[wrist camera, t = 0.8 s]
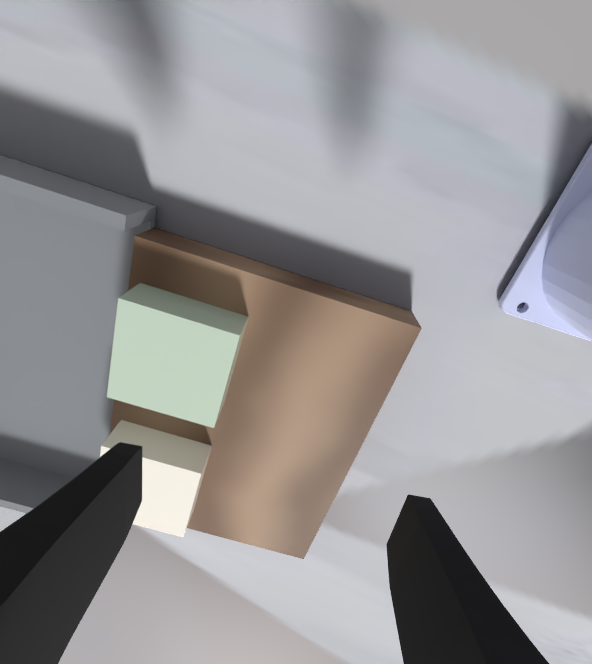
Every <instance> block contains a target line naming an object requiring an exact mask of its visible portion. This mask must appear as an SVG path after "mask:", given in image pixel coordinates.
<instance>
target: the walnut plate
mask: <svg viewBox="0 0 592 664" xmlns="http://www.w3.org/2000/svg"><path fill="white" fill-rule="evenodd" d="M139 283H143V284H146V285H149V286H152V287H155V288H159V289H162V290H165V291H168V292H171V293H175V294H178V295H181V296H184V297H187V298H191V299H194V300H197V301H200V302H203V303H206V304H210V305H213V306H216V307H219V308H222V309H226V310H229V311H232V312H235V313H238V314H242V315H245V316H248V321H247V324H246V328H245V331H244V335H243V338H242V342H241V345H240V349H239V352H238V356H237V359H236V363H235V366H234V370H233V374H232V377H231V381H230V384H229V388H228V391H227V395H226V398H225V402H224V404H223V407H222V410H221V412H220V415H219V417H218V420H217V422H216V425H215V427H214V428H212V427H208V426H205V425H201V424H198V423H194V422H191V421H187V420H184V419H180V418H177V417H173V416H170V415H167V414H163V413H160V412H156V411H153V410H149V409H146V408H142V407H139V406H135V405H132V404H129V403H125V402H122V401H118V400H115V399H114V404H113V412H112V420H111V428H110V434H111V432H112V431H113V430H114V428H115V427H116V426H117V424H118V423H119V422H120V421H121V420H124V421H127V422H131V423H134V424H138V425H141V426H145V427H148V428H152V429H155V430H159V431H162V432H166V433H169V434H173V435H176V436H180V437H183V438H187V439H190V440H194V441H197V442H201V443H204V444H208V445H211V446H212V447H211V451H210V455H209V458H208V462H207V465H206V469H205V472H204V476H203V479H202V483H201V486H200V490H199V493H198V497H197V500H196V504H195V507H194V510H193V513H192V515H191V518H190V521H189V524H188V526H187V528H189V529H193V530H197V531H201V532H204V533H208V534H212V535H216V536H219V537H223V538H227V539H231V540H234V541H238V542H242V543H245V544H249V545H253V546H257V547H260V548H264V549H268V550H272V551H275V552H279V553H283V554H287V555H290V556H294V557H298V558H302V559H304V557H305V555H306V553H307V551H308V549H309V547H310V545H311V543H312V542H313V540H314V538H315V536H316V534H317V532H318V530H319V528H320V526H321V524H322V522H323V520H324V518H325V516H326V514H327V512H328V510H329V508H330V506H331V504H332V502H333V500H334V498H335V497H336V495H337V493H338V491H339V489H340V487H341V485H342V483H343V481H344V479H345V477H346V475H347V473H348V471H349V469H350V467H351V465H352V463H353V461H354V459H355V457H356V455H357V453H358V452H359V450H360V448H361V446H362V444H363V442H364V440H365V438H366V436H367V434H368V432H369V430H370V428H371V426H372V424H373V422H374V420H375V418H376V416H377V414H378V412H379V410H380V408H381V407H382V405H383V403H384V401H385V399H386V397H387V395H388V393H389V391H390V389H391V387H392V385H393V383H394V381H395V379H396V377H397V375H398V373H399V371H400V369H401V367H402V365H403V363H404V362H405V360H406V358H407V356H408V354H409V352H410V350H411V348H412V346H413V344H414V342H415V340H416V338H417V336H418V334H419V332H420V330H421V326H420V325H419V323H418V321H417V320H416V318H415V316H414V314H413V313H412V311H409V310H405V309H402V308H399V307H396V306H393V305H390V304H387V303H384V302H381V301H378V300H375V299H372V298H369V297H365V296H362V295H359V294H356V293H353V292H350V291H347V290H344V289H341V288H338V287H335V286H332V285H329V284H326V283H322V282H319V281H316V280H313V279H310V278H307V277H304V276H301V275H298V274H295V273H292V272H289V271H286V270H283V269H279V268H276V267H273V266H270V265H267V264H264V263H261V262H258V261H255V260H252V259H249V258H246V257H243V256H239V255H236V254H233V253H230V252H227V251H224V250H221V249H218V248H215V247H212V246H209V245H206V244H203V243H200V242H196V241H193V240H190V239H187V238H184V237H181V236H178V235H175V234H172V233H169V232H166V231H163V230H160V229H156V228H152V229H150V230H147V231H145V232H142V233H140V234H138V235H135V237H134V245H133V253H132V261H131V269H130V277H129V285H128V291H129V290H131V289H132V288H133V287H135V286H136V285H138V284H139Z"/></svg>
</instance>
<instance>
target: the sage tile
mask: <svg viewBox="0 0 592 664" xmlns="http://www.w3.org/2000/svg"><path fill="white" fill-rule="evenodd" d="M247 321H248V316H245V315H242V314H238V313H235V312H232V311H229V310H226V309H222V308H219V307H216V306H213V305H210V304H206V303H203V302H200V301H197V300H194V299H191V298H187V297H184V296H181V295H178V294H175V293H171V292H168V291H165V290H162V289H159V288H155V287H152V286H149V285H146V284H143V283H139V284H138V285H136V286H135V287H133V288H132V289H131V290H129V291H128V292H126V293H125V294H123V295H122V296H120V297H119V298H118V304H117V313H116V322H115V330H114V339H113V348H112V356H111V365H110V374H109V382H108V391H107V397H108V398H111V399H115V400H118V401H122V402H125V403H129V404H132V405H135V406H139V407H142V408H146V409H149V410H153V411H156V412H160V413H163V414H167V415H170V416H173V417H177V418H180V419H184V420H187V421H191V422H194V423H198V424H201V425H205V426H208V427H212V428H214V427H215V425H216V422H217V420H218V417H219V415H220V412H221V410H222V407H223V404H224V402H225V398H226V395H227V391H228V388H229V384H230V381H231V377H232V374H233V370H234V366H235V363H236V359H237V356H238V352H239V349H240V345H241V342H242V338H243V335H244V331H245V328H246V324H247Z"/></svg>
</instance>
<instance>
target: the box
mask: <svg viewBox="0 0 592 664" xmlns="http://www.w3.org/2000/svg"><path fill="white" fill-rule="evenodd" d="M156 210H157V206H154V205H151V204H148V203H145V202H142V201H139V200H136V199H133V198H130V197H127V196H124V195H121V194H118V193H115V192H112V191H109V190H106V189H103V188H100V187H97V186H94V185H91V184H88V183H85V182H82V181H79V180H76V179H72V178H69V177H66V176H63V175H60V174H57V173H54V172H51V171H48V170H45V169H42V168H39V167H36V166H33V165H30V164H27V163H24V162H21V161H18V160H15V159H12V158H9V157H6V156H3V155H0V506H1V507H5V508H9V509H13V510H16V511H20V512H24V513H28V512H30V511H31V510H32V509H34V508H35V507H36V506H38V505H39V504H41V503H42V502H43V501H45V500H46V499H47V498H48V497H50V496H51V495H52V494H54V493H55V492H56V491H58V490H59V489H60V488H62V487H63V486H64V485H66V484H67V483H68V482H70V481H71V480H72V479H73V478H75V477H76V476H77V475H78V474H80V473H81V472H82V471H83V470H85V469H86V468H87V467H88V466H90V465H91V464H92V463H93V462H95V461H96V460H97V459H98V458H100V452H101V445H102V444H103V443H104V441H105V440H106V439H107V438H108V436H109V435H110V428H111V420H112V412H113V404H114V399H111V398H108V397H107V391H108V382H109V374H110V365H111V356H112V348H113V339H114V330H115V322H116V313H117V304H118V298H119V297H120V296H122V295H123V294H125V293H126V292H128V285H129V277H130V269H131V261H132V253H133V245H134V237H135V235H138V234H140V233H142V232H145V231H147V230H150V229H152V228H154V224H155V217H156Z"/></svg>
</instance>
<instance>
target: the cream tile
mask: <svg viewBox="0 0 592 664" xmlns="http://www.w3.org/2000/svg"><path fill="white" fill-rule="evenodd" d="M119 442H122V443H128V444H133V445H139V446H142V502H141V504H140V507H139V509H138V512H137V514H136V516H135V519H134V521H133V524H135V525H139V526H142V527H146V528H150V529H154V530H157V531H161V532H165V533H169V534H172V535H176V536H180V537H184V535H185V532H186V529H187V526H188V524H189V521H190V518H191V515H192V513H193V510H194V507H195V504H196V500H197V497H198V493H199V490H200V486H201V483H202V479H203V476H204V472H205V469H206V465H207V462H208V458H209V455H210V451H211V447H212V446H211V445H208V444H204V443H201V442H197V441H194V440H190V439H187V438H183V437H180V436H176V435H173V434H169V433H166V432H162V431H159V430H155V429H152V428H148V427H145V426H141V425H138V424H134V423H131V422H127V421H124V420H121V421H120V422H119V423H118V424H117V426H116V427H115V428H114V430H113V431H112V432H111V434H110V435H109V436H108V438H107V439H106V440H105V441H104V443H103V444H102V445H101V452H100V457H101V456H102V455H103V454H105V453H106V452H107V451H108V450H110V449H111V448H112V447H113V446H114V445H116V444H117V443H119Z"/></svg>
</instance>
